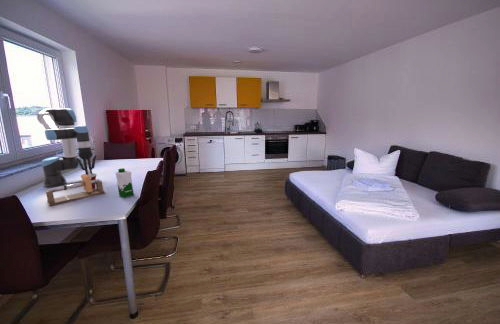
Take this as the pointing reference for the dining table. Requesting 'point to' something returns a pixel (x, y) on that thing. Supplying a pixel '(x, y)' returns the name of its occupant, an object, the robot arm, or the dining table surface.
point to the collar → (87, 183)
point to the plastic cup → (93, 177)
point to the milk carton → (124, 183)
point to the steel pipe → (72, 186)
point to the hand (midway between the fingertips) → (89, 178)
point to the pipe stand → (74, 195)
